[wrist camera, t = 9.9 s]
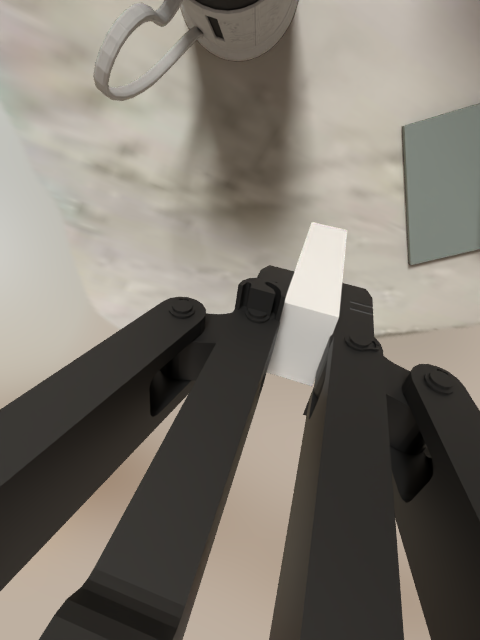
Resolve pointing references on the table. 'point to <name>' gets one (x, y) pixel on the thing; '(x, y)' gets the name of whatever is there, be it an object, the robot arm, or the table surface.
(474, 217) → the mat
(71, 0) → the table surface
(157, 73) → the tall grey mug
